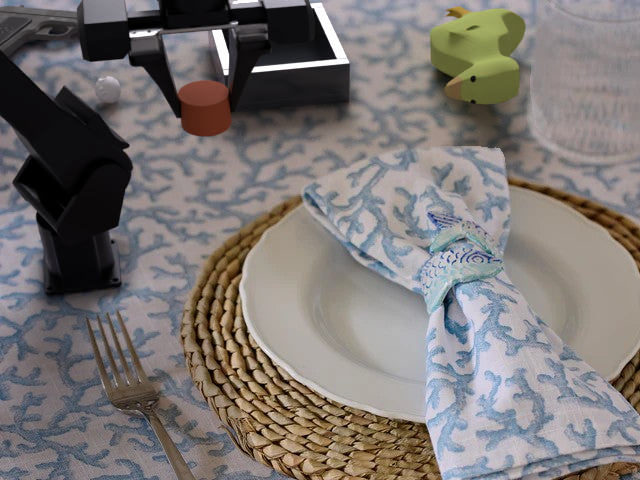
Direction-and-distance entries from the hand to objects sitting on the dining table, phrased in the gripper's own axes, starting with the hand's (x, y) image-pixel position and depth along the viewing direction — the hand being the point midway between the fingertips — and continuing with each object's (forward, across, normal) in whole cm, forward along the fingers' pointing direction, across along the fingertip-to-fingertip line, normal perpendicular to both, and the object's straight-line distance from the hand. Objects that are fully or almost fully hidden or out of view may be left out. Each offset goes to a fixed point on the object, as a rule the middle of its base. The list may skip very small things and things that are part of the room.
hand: (205, 113), depth 89 cm
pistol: (+10, +16, -32) cm, 37 cm away
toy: (+9, -30, -30) cm, 44 cm away
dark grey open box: (+11, -10, -26) cm, 30 cm away
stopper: (+1, 0, 0) cm, 1 cm away
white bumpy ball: (+11, +9, -23) cm, 27 cm away
